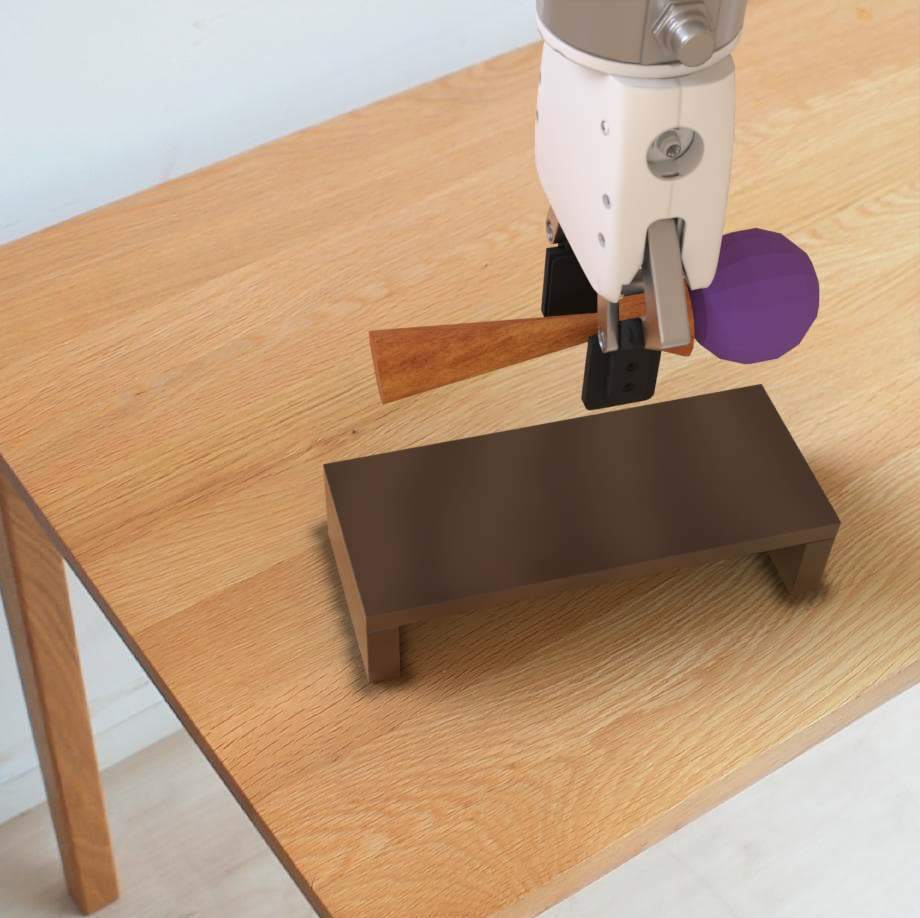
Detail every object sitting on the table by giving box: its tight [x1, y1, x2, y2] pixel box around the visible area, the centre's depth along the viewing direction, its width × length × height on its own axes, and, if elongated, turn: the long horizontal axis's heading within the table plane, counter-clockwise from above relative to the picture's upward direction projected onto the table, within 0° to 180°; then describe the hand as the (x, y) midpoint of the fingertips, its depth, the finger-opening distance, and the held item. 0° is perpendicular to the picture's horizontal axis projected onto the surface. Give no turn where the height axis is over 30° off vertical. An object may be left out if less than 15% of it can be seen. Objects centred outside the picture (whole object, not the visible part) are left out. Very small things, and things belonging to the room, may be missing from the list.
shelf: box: [322, 383, 842, 684], centre depth 75 cm, size 24×10×6 cm, turn 104°
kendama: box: [368, 227, 820, 406], centre depth 64 cm, size 6×6×20 cm
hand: (595, 353), depth 65 cm, fingers closed on kendama, 5 cm apart
